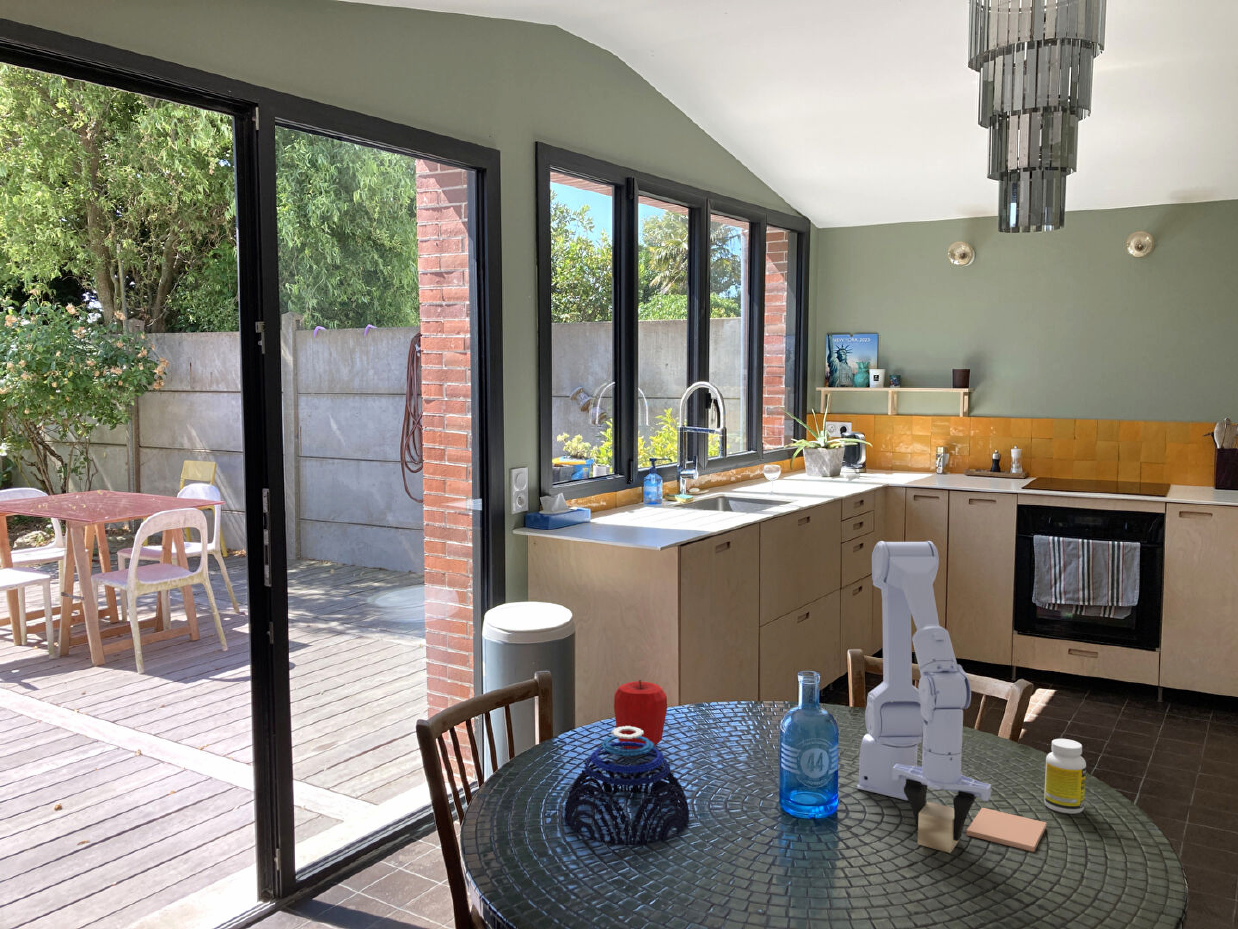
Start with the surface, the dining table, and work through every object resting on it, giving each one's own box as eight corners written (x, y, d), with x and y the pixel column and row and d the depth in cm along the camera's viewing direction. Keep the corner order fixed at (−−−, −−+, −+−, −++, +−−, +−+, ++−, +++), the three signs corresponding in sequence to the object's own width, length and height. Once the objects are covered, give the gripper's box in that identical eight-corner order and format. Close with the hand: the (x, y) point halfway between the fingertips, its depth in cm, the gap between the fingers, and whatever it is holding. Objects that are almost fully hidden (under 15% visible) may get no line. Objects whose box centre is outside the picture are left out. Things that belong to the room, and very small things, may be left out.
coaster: (966, 835, 156) (966, 830, 156) (981, 812, 165) (982, 807, 165) (1033, 852, 151) (1034, 847, 151) (1046, 827, 159) (1046, 822, 159)
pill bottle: (1088, 816, 163) (1091, 751, 162) (1048, 813, 165) (1051, 748, 164) (1078, 801, 169) (1082, 738, 168) (1040, 797, 171) (1043, 735, 170)
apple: (667, 759, 186) (668, 688, 185) (613, 758, 187) (613, 687, 185) (665, 738, 197) (666, 672, 196) (614, 738, 197) (614, 671, 196)
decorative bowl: (713, 816, 163) (715, 731, 161) (631, 859, 148) (632, 765, 147) (624, 782, 176) (624, 703, 175) (540, 817, 162) (541, 731, 160)
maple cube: (917, 844, 153) (918, 813, 153) (926, 832, 157) (928, 801, 157) (950, 853, 150) (951, 821, 150) (959, 840, 154) (960, 809, 154)
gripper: (887, 746, 153) (884, 831, 154) (984, 767, 145) (980, 856, 146) (901, 733, 159) (898, 814, 160) (995, 752, 151) (992, 838, 152)
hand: (938, 833), depth 154 cm, fingers closed on maple cube, 5 cm apart
